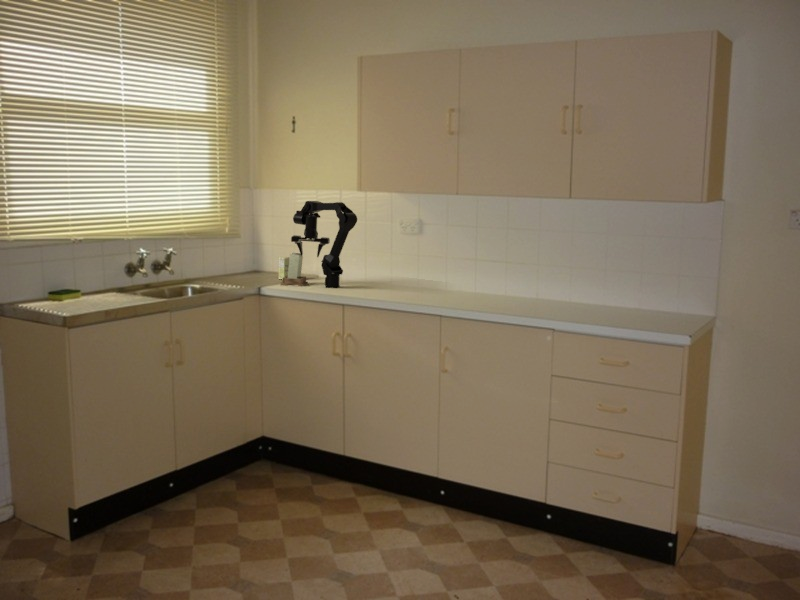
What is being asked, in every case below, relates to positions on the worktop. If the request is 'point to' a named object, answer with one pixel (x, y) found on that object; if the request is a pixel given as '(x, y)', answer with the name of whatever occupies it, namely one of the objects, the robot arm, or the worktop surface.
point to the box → (283, 267)
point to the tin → (295, 266)
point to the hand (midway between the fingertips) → (309, 256)
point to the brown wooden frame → (294, 281)
